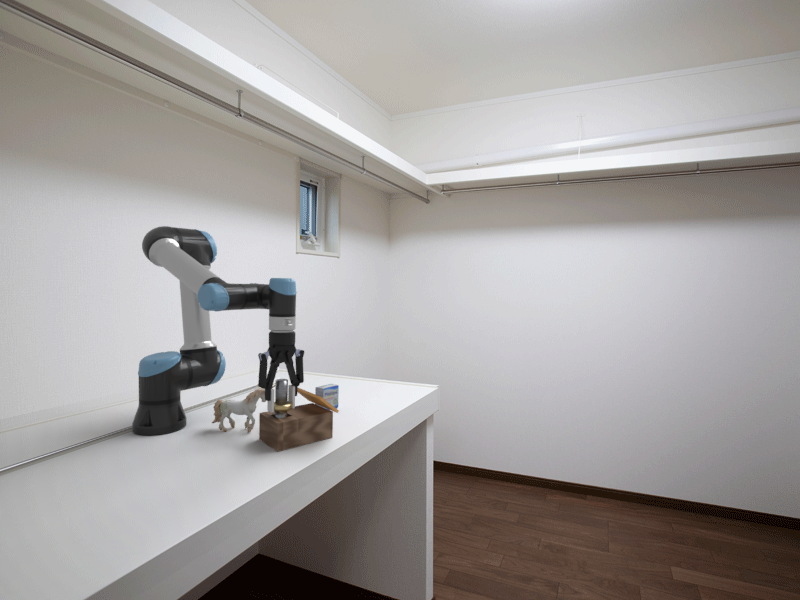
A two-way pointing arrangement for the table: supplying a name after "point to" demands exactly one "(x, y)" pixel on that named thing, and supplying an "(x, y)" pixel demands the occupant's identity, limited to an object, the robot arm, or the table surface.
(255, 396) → the unicorn figurine
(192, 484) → the table surface
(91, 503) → the table surface
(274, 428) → the block
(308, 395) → the latch flap
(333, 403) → the medicine box
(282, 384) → the pin
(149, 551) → the table surface
